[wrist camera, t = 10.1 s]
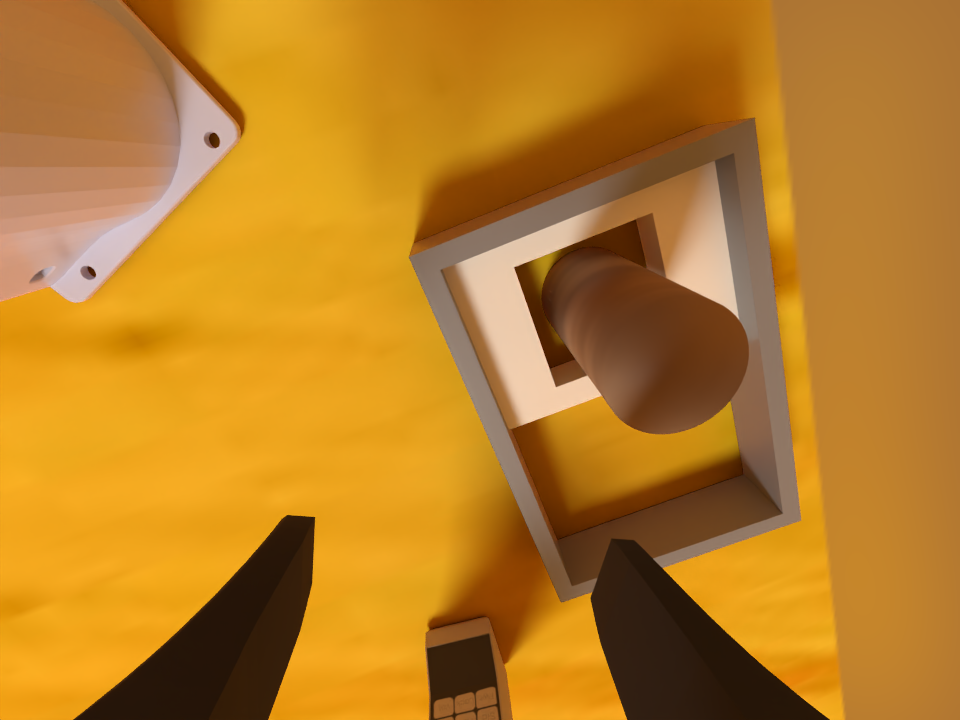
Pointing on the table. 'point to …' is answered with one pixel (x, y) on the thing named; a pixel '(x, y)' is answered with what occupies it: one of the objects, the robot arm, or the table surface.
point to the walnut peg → (645, 340)
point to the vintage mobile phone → (466, 673)
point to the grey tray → (542, 391)
